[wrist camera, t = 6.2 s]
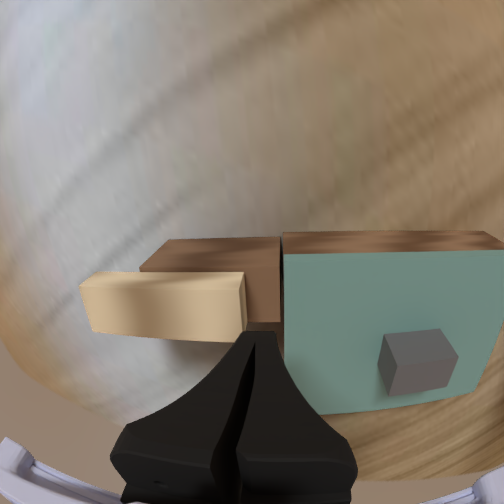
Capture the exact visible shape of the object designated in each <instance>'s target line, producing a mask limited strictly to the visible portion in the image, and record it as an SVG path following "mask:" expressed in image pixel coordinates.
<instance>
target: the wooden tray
mask: <svg viewBox="0 0 504 504" xmlns="http://www.w3.org/2000/svg"><path fill="white" fill-rule="evenodd" d="M474 250H504V243H503V242H501V241H500V240H498V239H496V238H495V237H493V236H491V235H490V234H488V233H486V232H484V231H333V232H283V273H284V254H332V253H382V252H430V251H474ZM139 269H140V272H244V280H245V293H246V307H247V322H280V315H281V248H280V237H248V238H210V239H177V240H168V241H167V242H166V243H164V244H163V245H162V246H161V247H160V248H159V249H158V250H157V251H156V252H155V253H154V254H153V255H152V256H151V257H150V258H149V259H148V260H146V261H145V262H144V263H143V264H142V265H141V266H140V267H139Z"/></svg>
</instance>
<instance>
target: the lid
mask: <svg viewBox="0 0 504 504" xmlns="http://www.w3.org/2000/svg"><path fill="white" fill-rule="evenodd" d="M503 321H504V250H474V251H430V252H382V253H332V254H284V364H285V366H286V368H287V370H288V372H289V374H290V376H291V378H292V379H293V381H294V383H295V385H296V386H297V388H298V389H299V391H300V392H301V394H302V395H303V396H304V398H305V399H306V400H307V402H308V403H309V404H310V405H311V407H312V408H313V409H314V410H315V411H316V412H317V413H318V414H319V415H324V414H340V413H353V412H363V411H373V410H381V409H389V408H396V407H402V406H409V405H415V404H420V403H426V402H431V401H436V400H441V399H445V398H450V397H454V396H458V395H462V394H467V393H470V392H474V390H475V388H476V386H477V384H478V382H479V380H480V378H481V376H482V373H483V371H484V369H485V367H486V364H487V362H488V360H489V357H490V355H491V353H492V350H493V348H494V345H495V343H496V340H497V337H498V335H499V332H500V329H501V327H502V324H503Z"/></svg>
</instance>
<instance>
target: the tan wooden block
mask: <svg viewBox="0 0 504 504" xmlns="http://www.w3.org/2000/svg"><path fill="white" fill-rule="evenodd" d="M79 289H80V292H81V296H82V299H83V303H84V306H85V309H86V312H87V315H88V318H89V321H90V324H91V327H92V330H93V332H100V333H109V334H117V335H127V336H137V337H148V338H160V339H174V340H190V341H210V342H235V341H236V339H237V338H238V336H239V335H240V333H241V332H243V331H246V326H247V307H246V293H245V280H244V272H95V273H94V274H93V275H92V276H90V277H89V278H88V279H87V280H86V281H84V282H83V283H82V284H81V285H79Z"/></svg>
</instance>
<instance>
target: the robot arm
mask: <svg viewBox="0 0 504 504" xmlns="http://www.w3.org/2000/svg"><path fill="white" fill-rule="evenodd" d="M110 460H111V462H112V464H113V466H114V467H115V469H116V470H117V471H118V473H119V474H120V475H121V477H122V478H123V479H124V480H125V481H126V483H127V484H126V486H125V489H124V491H123V494H122V495H119V494H116V493H113V492H110V491H107V490H104V489H101V488H99V487H96V486H93V485H90V484H88V483H86V482H83V481H81V480H78V479H75V478H73V477H71V476H69V475H66V474H64V473H62V472H60V471H58V470H55V469H53V468H51V467H49V466H47V465H45V464H43V463H41V462H39V461H37V460H35V459H34V457H33V456H32V455H31V453H30V452H29V451H28V450H27V449H25V448H24V447H23V446H22V445H20V444H18V443H16V442H15V441H13V440H11V439H9V438H8V437H5V438H4V440H3V441H2V443H1V444H0V493H1V494H2V495H3V496H4V497H6V498H7V499H8V500H9V501H10V502H11V503H13V504H350V502H351V488H352V486H353V484H354V482H355V480H356V478H357V474H358V468H357V464H356V460H355V457H354V455H353V452H352V450H351V448H350V446H349V444H348V442H347V440H346V439H345V438H344V437H343V436H341V435H340V434H339V433H337V432H336V431H335V430H334V429H333V428H332V427H331V426H329V425H328V424H327V423H326V422H325V421H324V420H323V419H322V418H321V417H320V416H319V414H318V413H317V412H316V411H315V410H314V409H313V408H312V407H311V405H310V404H309V403H308V402H307V400H306V399H305V398H304V396H303V395H302V394H301V392H300V391H299V389H298V388H297V386H296V385H295V383H294V381H293V379H292V378H291V376H290V374H289V372H288V370H287V368H286V366H285V364H284V361H283V359H282V356H281V354H280V351H279V348H278V344H277V339H276V333H275V332H274V331H243V332H241V333H240V335H239V336H238V338H237V339H236V341H235V342H234V344H233V345H232V347H231V348H230V349H229V351H228V352H227V353H226V354H225V356H224V357H223V358H222V359H221V361H220V362H219V363H218V364H217V365H216V366H215V367H214V368H213V369H212V370H211V371H210V373H209V374H208V375H207V376H206V377H205V378H204V379H202V380H201V381H200V382H199V383H198V384H197V385H196V386H195V387H193V388H192V389H191V390H190V391H188V392H187V393H186V394H184V395H183V396H182V397H180V398H179V399H177V400H176V401H174V402H173V403H171V404H169V405H168V406H166V407H164V408H162V409H161V410H159V411H157V412H155V413H153V414H151V415H149V416H146V417H144V418H141V419H139V420H137V421H134V422H132V423H129V424H127V425H126V426H125V428H124V429H123V431H122V432H121V434H120V436H119V438H118V439H117V441H116V443H115V446H114V448H113V450H112V452H111V454H110ZM419 504H504V466H502V467H499V468H497V469H495V470H493V471H490V472H489V473H486V474H485V475H483V476H481V477H480V478H479V479H478V480H477V481H476V482H475V483H474V484H473V486H472V487H469V488H466V489H464V490H461V491H458V492H455V493H452V494H449V495H446V496H443V497H440V498H436V499H433V500H430V501H426V502H422V503H419Z"/></svg>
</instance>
